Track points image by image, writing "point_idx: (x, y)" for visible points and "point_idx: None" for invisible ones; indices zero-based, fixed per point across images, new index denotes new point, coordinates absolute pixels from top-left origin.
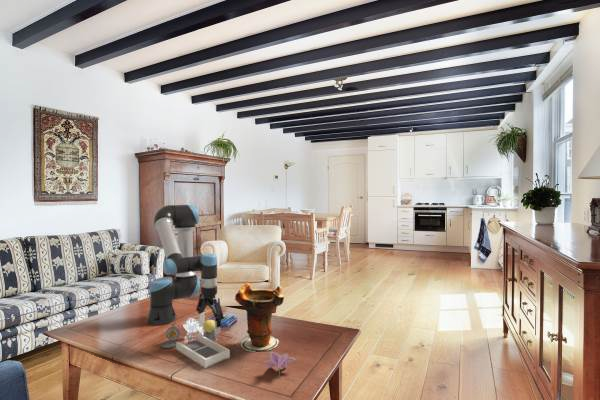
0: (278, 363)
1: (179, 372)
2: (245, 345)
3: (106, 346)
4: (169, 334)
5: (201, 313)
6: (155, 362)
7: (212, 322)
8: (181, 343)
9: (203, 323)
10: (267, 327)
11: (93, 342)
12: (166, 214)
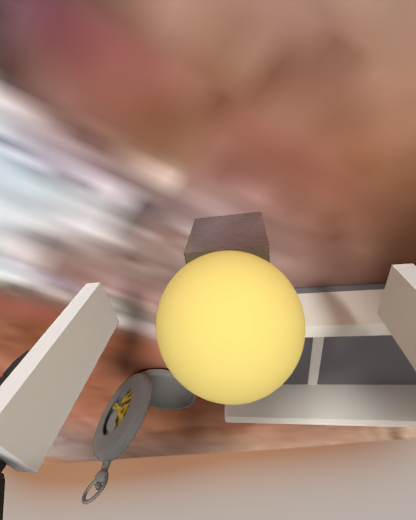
0: None
1: (410, 429)
2: None
3: (71, 454)
4: (109, 408)
5: (19, 460)
6: (269, 436)
7: (286, 361)
8: (256, 417)
9: (93, 310)
10: None
11: None
12: None
